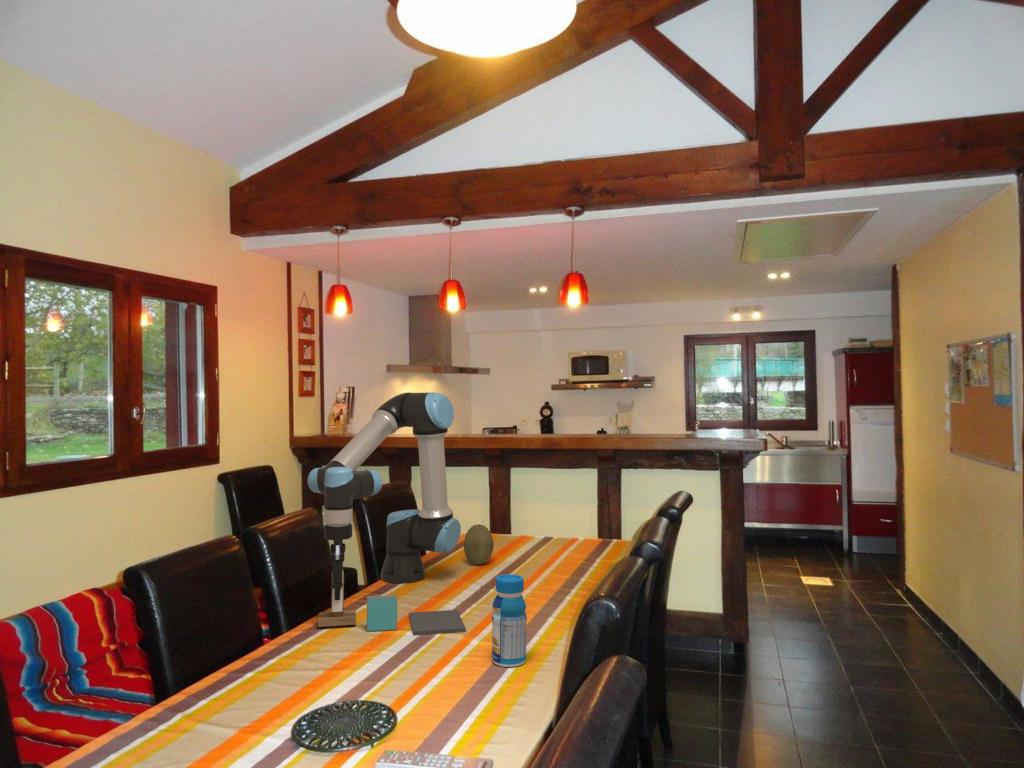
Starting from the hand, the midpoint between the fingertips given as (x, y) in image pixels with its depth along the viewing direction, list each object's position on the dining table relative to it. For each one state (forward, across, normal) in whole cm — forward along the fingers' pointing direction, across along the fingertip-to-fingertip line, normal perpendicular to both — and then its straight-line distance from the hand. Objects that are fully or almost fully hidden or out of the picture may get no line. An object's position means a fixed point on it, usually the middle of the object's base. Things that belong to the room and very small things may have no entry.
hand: (337, 608), depth 187 cm
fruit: (+5, -60, +50) cm, 78 cm away
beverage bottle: (+5, +34, +41) cm, 53 cm away
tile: (+4, +6, +12) cm, 14 cm away
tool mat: (+5, +4, +27) cm, 28 cm away
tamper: (+4, 0, 0) cm, 4 cm away
